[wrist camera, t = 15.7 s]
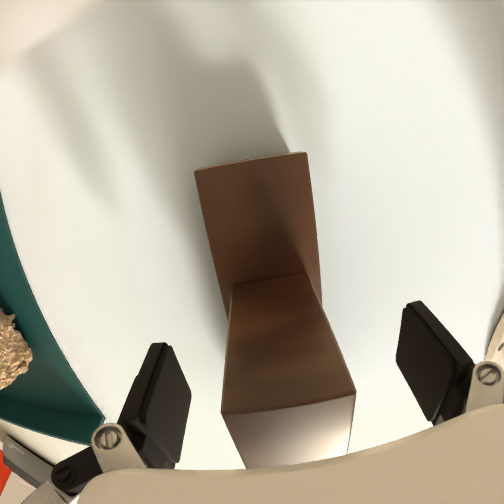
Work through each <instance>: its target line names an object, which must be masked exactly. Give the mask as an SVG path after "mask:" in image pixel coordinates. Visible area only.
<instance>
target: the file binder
mask: <svg viewBox="0 0 504 504" xmlns="http://www.w3.org/2000/svg"><path fill="white" fill-rule="evenodd" d="M11 472H12V470H11V469H9V468H8V467H7V466H6V465H5V464H4V462H3V453H2V451H1V450H0V496H1V493H2V491H3V489H4V487H5V484H6V482H7V480H8V478H9V475H10V474H11Z"/></svg>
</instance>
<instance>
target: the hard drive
mask: <svg viewBox="0 0 504 504" xmlns="http://www.w3.org/2000/svg"><path fill="white" fill-rule="evenodd" d="M2 453H3V462H4V464H5V465H6V466H7V467H8V468H9V469H11V470H12V471H13V472H14V473H16V474H17V475H18V476H20V477H21V478H22V479H24V480H25V481H27V482H28V483H29V484H31V485H32V486H34V487H35V488H38V487H39V486H41V485H42V484H43V483H44V482H45V481H46V480H48V481H49V482H50V481H51V472H52V470H53V468H54V467H52V466H50V465H49V464H47V463H46V462H44V461H43V460H41V459H39V458H38V457H36V456H35V455H34V454H32V453H31V452H29V451H28V450H26V449H25V448H24V447H22V446H21V445H19V444H18V443H17V442H15V441H14V440H13V439H11V438H10V437H9V436H7V435H6V437H5V440H4V444H3V451H2Z"/></svg>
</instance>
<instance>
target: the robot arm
mask: <svg viewBox="0 0 504 504" xmlns="http://www.w3.org/2000/svg"><path fill="white" fill-rule="evenodd" d="M396 363H397V365H398V367H399V369H400V371H401V372H402V374H403V376H404V378H405V380H406V381H407V383H408V385H409V387H410V389H411V391H412V392H413V394H414V396H415V398H416V400H417V402H418V404H419V406H420V407H421V409H422V411H423V413H424V415H425V417H426V419H427V420H428V421H431V422H432V424H433V426H434V427H431V428H429V429H426V430H423V431H421V432H418V433H415V434H413V435H410V436H407V437H404V438H401V439H399V440H396V441H392V442H389V443H386V444H383V445H380V446H376V447H373V448H369V449H366V450H362V451H358V452H354V453H350V454H346V455H342V456H337V457H332V458H328V459H323V460H317V461H312V462H306V463H299V464H292V465H285V466H276V467H267V468H255V469H239V470H175V469H174V468H175V463H178V462H179V461H180V456H181V450H182V445H183V439H184V434H185V428H186V423H187V418H188V413H189V407H190V402H191V390H190V388H189V386H188V383H187V381H186V379H185V377H184V374H183V372H182V370H181V367H180V365H179V363H178V360H177V358H176V355H175V353H174V351H173V348H172V346H168V345H167V343H165V342H163V343H152V344H151V346H150V348H149V350H148V353H147V355H146V357H145V360H144V362H143V364H142V367H141V369H140V371H139V374H138V375H137V376H136V378H135V379H134V382H133V384H132V387H131V389H130V392H129V394H128V396H127V399H126V401H125V404H124V406H123V409H122V411H121V414H120V417H119V419H118V422H117V424H116V423H106V424H103V425H101V426H99V427H98V428H97V429H96V430H95V431H94V432H93V434H92V436H91V446H90V447H88V448H86V449H84V450H82V451H80V452H78V453H76V454H75V455H73V456H71V457H69V458H67V459H65V460H63V461H61V462H59V463H58V464H56V465H55V467H54V468H53V470H52V472H51V481H50V482H49V481H48V480H46V481H45V482H44V483H43V484H42V485H41V486H39V487H38V488H37V489H36V490H35V491H34V492H33V493H32V494H31V495H29V496H28V497H27V498H26V499H25V500H24V501H23V502H22V503H21V504H504V313H503V315H502V317H501V319H500V321H499V323H498V325H497V327H496V329H495V332H494V334H493V336H492V339H491V341H490V344H489V347H488V351H487V354H486V361H482V362H480V363H478V364H476V365H475V364H474V362H473V360H472V359H471V358H470V356H469V355H468V354H467V353H466V351H465V350H464V349H463V348H462V347H461V345H460V344H459V343H458V342H457V341H456V340H455V338H454V337H453V336H452V335H451V334H450V333H449V331H448V330H447V329H446V328H445V327H444V326H443V324H442V323H441V322H440V321H439V320H438V319H437V318H436V317H435V316H434V314H433V313H432V312H431V311H430V310H429V309H428V308H427V307H426V306H425V305H424V303H423V302H422V301H415V302H411V303H408V304H407V305H406V308H404V309H403V312H402V320H401V328H400V335H399V341H398V347H397V353H396Z"/></svg>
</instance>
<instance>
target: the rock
mask: <svg viewBox="0 0 504 504" xmlns="http://www.w3.org/2000/svg"><path fill="white" fill-rule="evenodd" d="M14 318H15V314H12V315H10V316H8V315H7V316H6V315H5V314H4V309H1V308H0V390H1V389H2V388H4V387H7V385H10V384H11V383H12V382H13V381H14V380H15V379H16V378H17V377H16V376H18V375H19V374H23V373H25V372H26V371H28V363H29V362H31V361H32V359H33V358H32V351H31V348H30V347H28V343H27V342H26V341H25V340H23V337H22V335H21V333H20V332H19V331H16V330H14V329H13V328H15V323H12V320H13V319H14Z"/></svg>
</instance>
